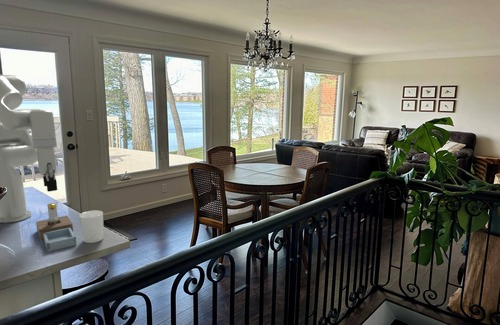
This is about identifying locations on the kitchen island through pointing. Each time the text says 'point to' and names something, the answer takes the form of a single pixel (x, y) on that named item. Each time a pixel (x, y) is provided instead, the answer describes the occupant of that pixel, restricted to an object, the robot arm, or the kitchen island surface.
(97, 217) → the white cup
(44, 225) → the socket block
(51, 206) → the pin
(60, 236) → the tray
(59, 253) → the kitchen island surface
